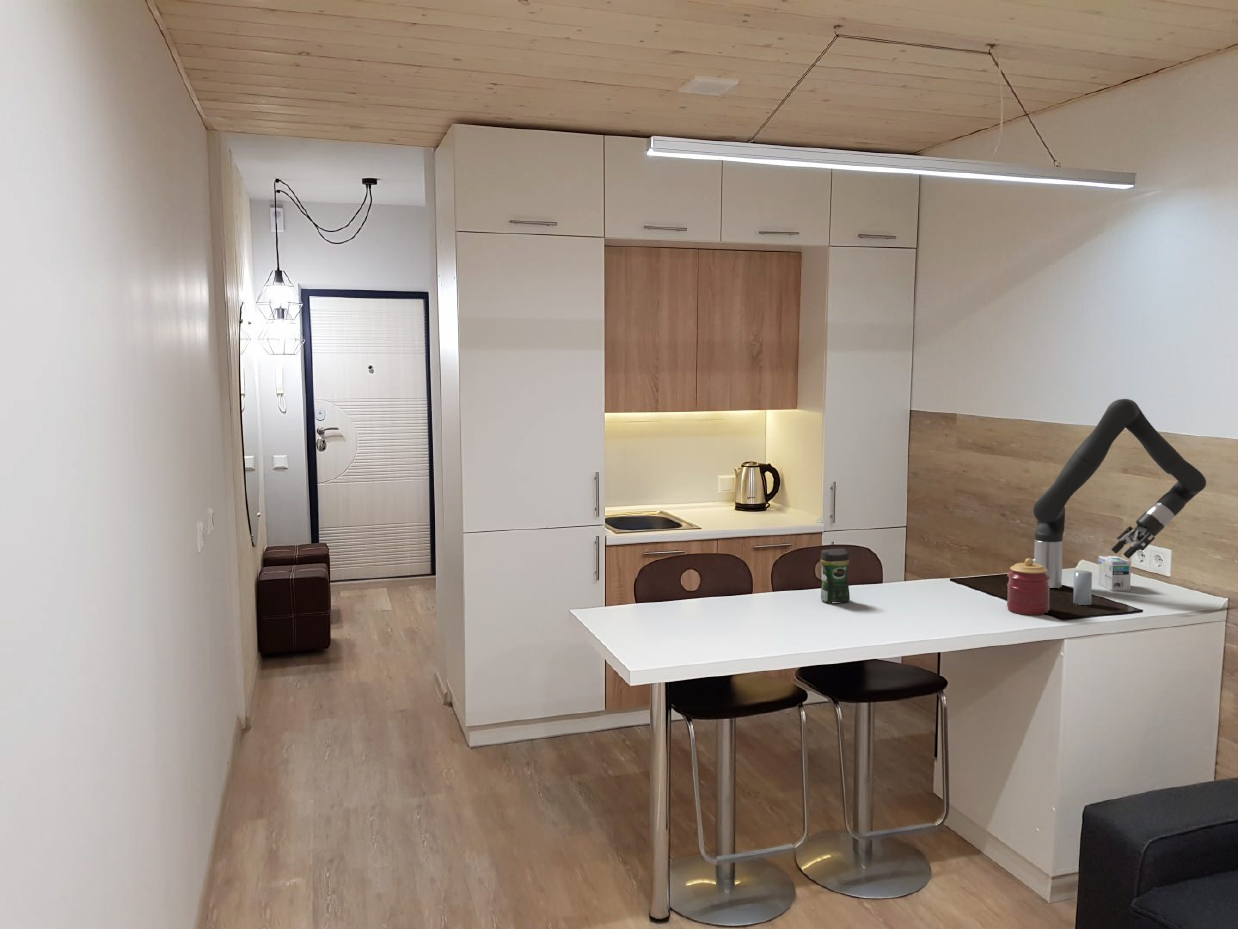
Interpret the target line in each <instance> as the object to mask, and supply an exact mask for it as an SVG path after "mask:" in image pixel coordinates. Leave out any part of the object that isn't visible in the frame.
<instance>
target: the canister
mask: <svg viewBox="0 0 1238 929" xmlns="http://www.w3.org/2000/svg"><path fill="white" fill-rule="evenodd" d="M1009 570H1010V572H1008V573H1007V574H1006V575H1007V577H1008V582H1007V584H1006V585H1007V600H1006V607H1007V610H1008V611H1009V612H1011V613H1015V614H1019V615H1024V614H1026V615H1025V616H1040V615H1039V614H1043V615H1045V614H1044V613H1047V612H1048V611H1049V612H1050V609H1051V607H1050V590H1051V589H1050V586H1049V584H1048V580H1049V579H1050V576H1049V575H1048V574H1047V573H1046V572H1047V571H1048V570H1047V569H1046V568H1045V567H1043V566H1042V565H1040V564H1035V563H1033V560H1032V558H1030V557H1028V558H1026V559H1025V560H1024V562H1017V563H1015V564H1013V565H1012V566H1010V568H1009ZM1049 612H1048V613H1049ZM1048 613H1047V614H1048ZM1027 614H1028V615H1027ZM1029 614H1030V615H1029Z"/></svg>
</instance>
